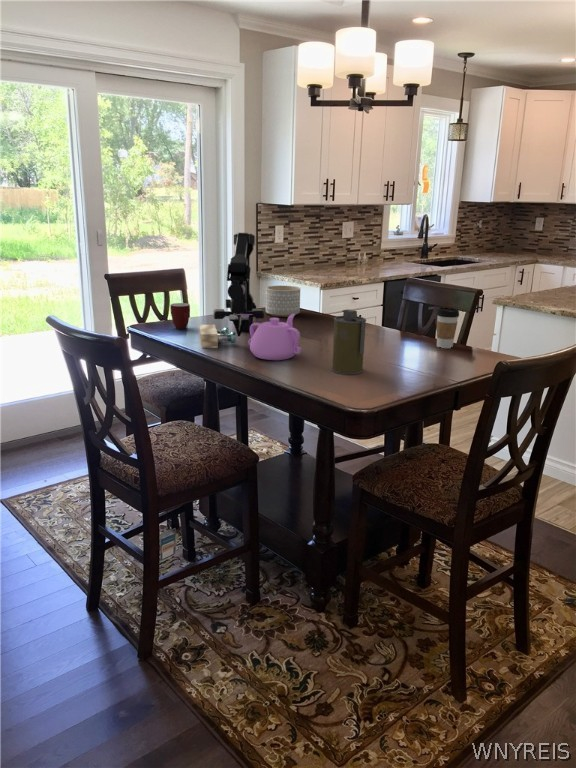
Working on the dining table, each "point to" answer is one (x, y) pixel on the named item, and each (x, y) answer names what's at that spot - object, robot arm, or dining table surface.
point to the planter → (282, 300)
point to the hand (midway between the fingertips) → (238, 336)
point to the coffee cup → (446, 326)
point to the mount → (208, 336)
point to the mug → (180, 314)
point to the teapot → (274, 339)
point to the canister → (348, 343)
